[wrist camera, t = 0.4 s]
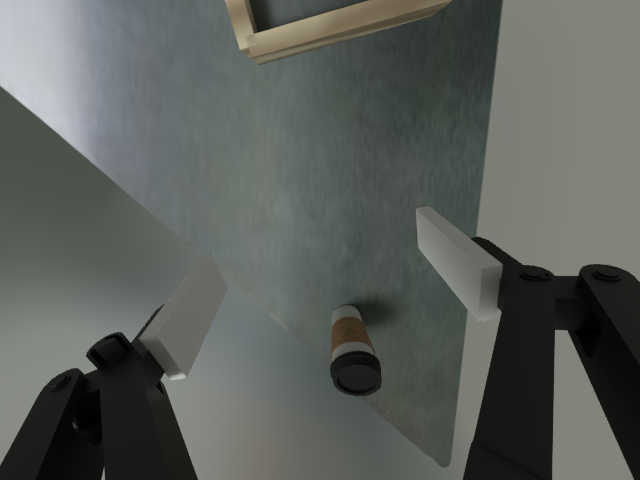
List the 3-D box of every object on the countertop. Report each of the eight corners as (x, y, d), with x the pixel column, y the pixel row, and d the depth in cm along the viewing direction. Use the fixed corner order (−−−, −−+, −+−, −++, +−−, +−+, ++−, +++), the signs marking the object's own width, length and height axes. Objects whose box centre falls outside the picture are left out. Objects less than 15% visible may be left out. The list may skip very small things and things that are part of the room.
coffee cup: (355, 334, 57) (369, 403, 43) (319, 325, 55) (323, 393, 41) (372, 306, 53) (393, 372, 40) (335, 295, 51) (344, 360, 38)
